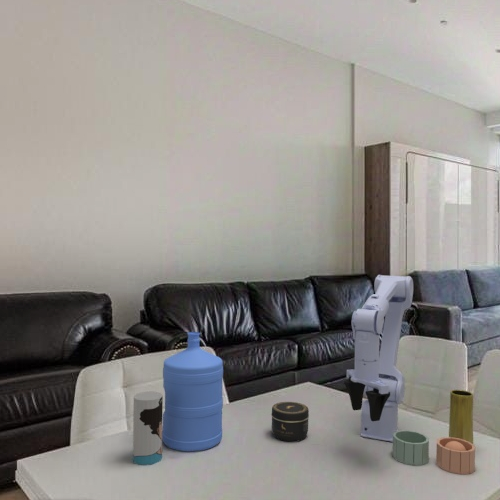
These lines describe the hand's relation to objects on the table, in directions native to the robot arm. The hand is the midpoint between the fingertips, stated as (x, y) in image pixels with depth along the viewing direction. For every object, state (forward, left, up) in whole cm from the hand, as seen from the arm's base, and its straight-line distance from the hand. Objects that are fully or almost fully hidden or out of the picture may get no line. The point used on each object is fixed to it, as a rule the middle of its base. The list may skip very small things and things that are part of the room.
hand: (365, 414), depth 116 cm
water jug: (-43, -9, -11) cm, 45 cm away
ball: (+20, +5, -7) cm, 22 cm away
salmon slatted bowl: (+20, +5, -10) cm, 23 cm away
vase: (+21, +16, -11) cm, 28 cm away
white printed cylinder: (-47, -23, -11) cm, 53 cm away
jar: (-21, +5, -11) cm, 24 cm away
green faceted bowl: (+10, +5, -10) cm, 15 cm away
